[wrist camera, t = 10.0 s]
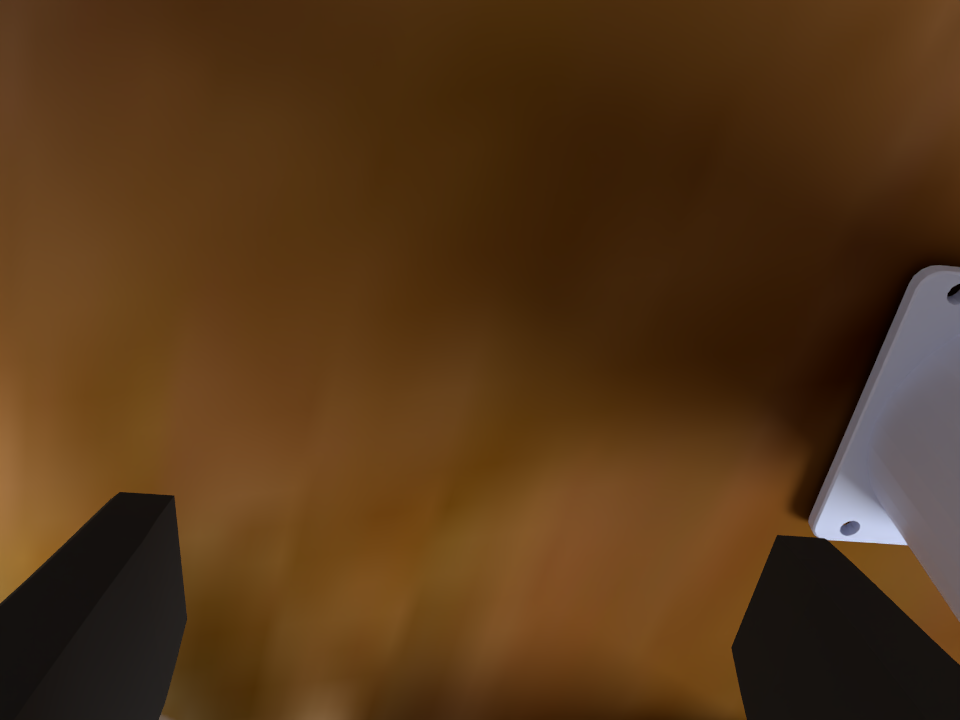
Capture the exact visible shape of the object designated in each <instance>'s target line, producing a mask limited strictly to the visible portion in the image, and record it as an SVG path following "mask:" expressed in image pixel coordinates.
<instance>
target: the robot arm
mask: <svg viewBox="0 0 960 720" xmlns="http://www.w3.org/2000/svg"><path fill="white" fill-rule="evenodd" d="M957 284H960V267H954V266H943V265H934V266H929V267H926V268H924V269H922V270H920V271H919V272H918V273H917V274H915V275H914V276H913V278H912V280H911V281H910V283H909V285H908V287H907V289H906V292H905V294H904V296H903V299H902V301H901V303H900V306H899V308H898V310H897V313H896V315H895V317H894V320H893V322H892V324H891V327H890V329H889V331H888V334H887V336H886V338H885V341H884V343H883V345H882V348H881V350H880V352H879V355H878V357H877V359H876V362H875V364H874V366H873V369H872V371H871V373H870V376H869V378H868V381H867V383H866V385H865V388H864V390H863V392H862V395H861V397H860V399H859V402H858V404H857V406H856V409H855V411H854V413H853V416H852V418H851V420H850V423H849V425H848V427H847V430H846V432H845V434H844V437H843V439H842V441H841V444H840V446H839V448H838V451H837V453H836V455H835V458H834V460H833V462H832V465H831V467H830V469H829V472H828V474H827V476H826V479H825V481H824V483H823V486H822V488H821V490H820V493H819V495H818V498H817V500H816V502H815V505H814V507H813V509H812V512H811V514H810V516H809V521H808V523H809V525H810V528H811V530H812V531H813V533H814V535H815V536H817V537H818V538H813V537H798V536H782V535H777V537H776V539H775V542H774V544H773V547H772V549H771V552H770V554H769V556H768V559H767V561H766V564H765V566H764V569H763V571H762V574H761V576H760V579H759V581H758V583H757V586H756V588H755V591H754V593H753V596H752V598H751V601H750V603H749V606H748V608H747V611H746V613H745V615H744V618H743V620H742V623H741V625H740V628H739V630H738V633H737V635H736V638H735V640H734V642H733V645H732V647H731V648H732V653H733V658H734V663H735V667H736V672H737V677H738V682H739V687H740V692H741V696H742V700H743V705H744V709H745V713H746V717H747V720H960V665H959V664H958V663H957V662H956V661H955V660H953V659H952V658H951V657H950V656H949V655H948V654H947V653H946V652H945V651H944V650H943V649H942V648H941V647H940V646H939V645H938V644H937V643H935V642H934V641H933V640H932V639H931V638H930V637H929V636H928V635H927V634H926V633H925V632H924V631H923V630H922V629H921V628H920V627H919V626H918V625H917V624H916V623H915V622H913V621H912V620H911V619H910V618H909V617H908V616H907V615H906V614H905V613H904V612H903V611H902V610H901V609H900V608H899V607H898V606H897V605H896V604H895V603H894V602H893V601H892V600H891V599H890V598H889V597H887V596H886V595H885V594H884V593H883V592H882V591H881V590H880V589H879V588H878V587H877V586H876V585H875V584H874V583H873V582H872V581H871V580H870V579H869V578H868V577H867V576H866V575H865V574H864V573H862V572H861V571H860V570H859V569H858V568H857V567H856V566H855V565H854V564H853V563H852V562H851V561H850V560H849V559H848V558H846V557H845V556H844V555H843V554H842V553H841V552H840V551H839V550H838V549H837V548H835V547H834V546H833V545H832V544H831V543H830V542H829V541H828V540H838V541H853V542H868V543H883V544H899V545H908V546H909V547H910V549H911V550H912V552H913V553H914V555H915V556H916V558H917V559H918V561H919V562H920V564H921V565H922V567H923V568H924V570H925V571H926V573H927V574H928V576H929V577H930V579H931V580H932V581H933V583H934V584H935V586H936V587H937V589H938V590H939V592H940V593H941V595H942V596H943V598H944V599H945V601H946V602H947V604H948V605H949V607H950V608H951V610H952V611H953V613H954V614H955V616H956V617H957V619H958V620H959V622H960V289H959V291H958V292H957V293H955V294H954V295H952V296H948V297H947V295H948V292H949V291H950V290H951V288H952V287H954V286H956V285H957ZM848 521H851V522H850V523H848V524H846V525H843V524H844V523H846V522H848ZM186 621H187V614H186V604H185V595H184V585H183V575H182V566H181V556H180V547H179V537H178V527H177V518H176V508H175V499H174V496H172V495H156V494H141V493H126V492H119V493H118V494H117V495H116V496H114V497H113V498H112V499H110V500H109V501H108V502H107V503H106V504H105V505H104V506H103V507H102V508H101V509H100V510H99V511H98V512H97V513H96V514H95V515H94V516H93V517H92V518H91V519H90V520H89V521H87V522H86V523H85V524H84V525H83V526H82V527H81V528H80V529H79V530H78V531H77V532H76V533H75V534H74V535H73V536H72V537H71V538H70V539H69V540H68V541H67V542H66V543H65V544H64V545H63V546H62V547H61V548H59V549H58V550H57V551H56V552H55V553H54V554H53V555H52V556H51V557H50V558H49V559H48V560H47V561H46V562H45V563H44V564H43V565H42V566H41V567H39V568H38V569H37V570H36V571H35V572H34V573H33V574H32V575H31V576H30V577H29V578H28V579H27V580H26V581H25V582H24V583H22V584H21V585H20V586H19V587H18V588H17V589H16V590H15V591H14V592H13V593H11V594H10V595H9V596H8V597H7V598H6V599H5V600H4V601H3V602H1V603H0V720H159V717H160V715H161V712H162V709H163V707H164V704H165V700H166V697H167V693H168V690H169V686H170V682H171V679H172V675H173V671H174V668H175V664H176V660H177V656H178V652H179V648H180V644H181V640H182V636H183V632H184V629H185V625H186Z"/></svg>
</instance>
